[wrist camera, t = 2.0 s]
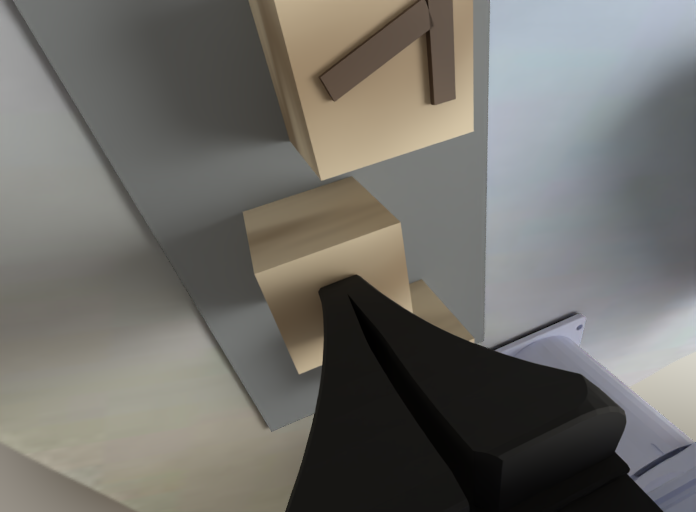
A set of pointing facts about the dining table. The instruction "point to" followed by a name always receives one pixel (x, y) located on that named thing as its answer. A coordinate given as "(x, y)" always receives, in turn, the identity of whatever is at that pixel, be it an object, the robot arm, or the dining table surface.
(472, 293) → the slate mat
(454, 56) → the block marked 7
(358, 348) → the robot arm
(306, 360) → the blank block
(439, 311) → the block marked 1
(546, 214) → the dining table surface
